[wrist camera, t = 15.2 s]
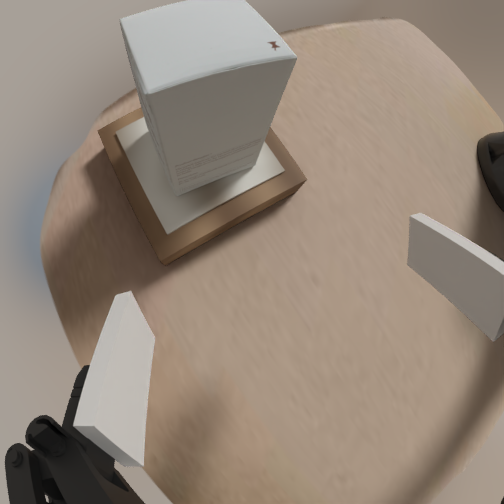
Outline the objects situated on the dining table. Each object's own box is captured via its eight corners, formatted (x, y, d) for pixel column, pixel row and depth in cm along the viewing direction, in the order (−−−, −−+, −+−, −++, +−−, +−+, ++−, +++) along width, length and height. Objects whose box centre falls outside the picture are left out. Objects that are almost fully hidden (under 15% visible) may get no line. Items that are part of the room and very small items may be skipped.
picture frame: (224, 90, 28) (227, 70, 24) (296, 191, 27) (308, 178, 24) (106, 145, 25) (96, 129, 21) (165, 265, 24) (159, 260, 21)
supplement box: (222, 103, 24) (240, -10, 11) (257, 167, 23) (304, 57, 11) (146, 129, 22) (117, 16, 10) (172, 199, 21) (143, 95, 9)
